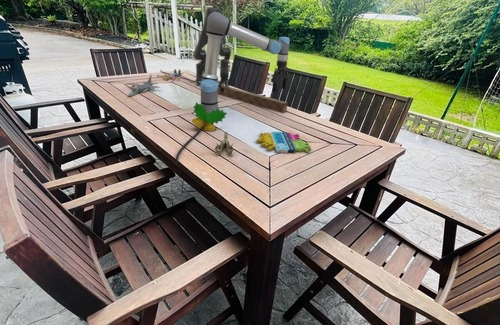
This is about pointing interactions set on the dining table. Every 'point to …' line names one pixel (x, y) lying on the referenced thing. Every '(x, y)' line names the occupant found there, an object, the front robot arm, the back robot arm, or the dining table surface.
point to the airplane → (142, 87)
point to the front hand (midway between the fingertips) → (278, 90)
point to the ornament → (207, 117)
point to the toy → (171, 75)
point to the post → (254, 99)
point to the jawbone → (224, 145)
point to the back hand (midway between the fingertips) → (224, 91)
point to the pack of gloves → (283, 142)
